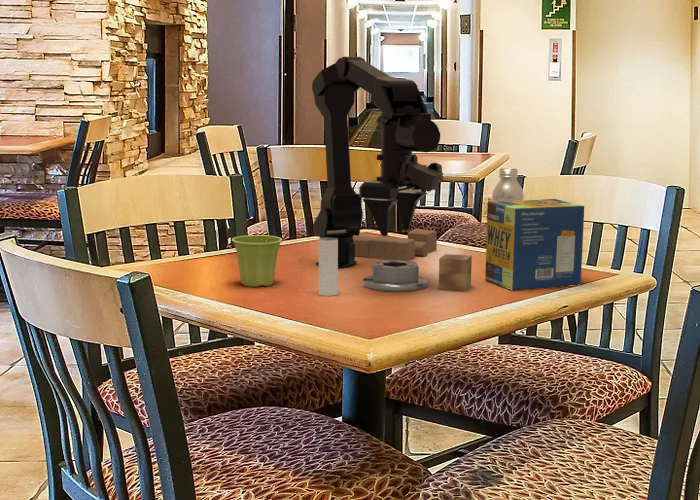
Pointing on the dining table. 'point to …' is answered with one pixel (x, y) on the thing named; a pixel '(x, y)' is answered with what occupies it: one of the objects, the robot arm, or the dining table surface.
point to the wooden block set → (396, 246)
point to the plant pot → (257, 258)
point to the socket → (395, 276)
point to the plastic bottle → (508, 186)
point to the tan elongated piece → (328, 266)
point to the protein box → (534, 243)
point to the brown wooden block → (455, 272)
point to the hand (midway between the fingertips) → (395, 232)
